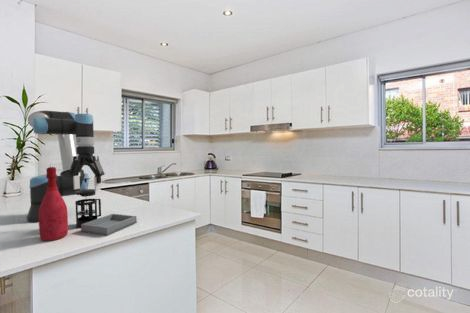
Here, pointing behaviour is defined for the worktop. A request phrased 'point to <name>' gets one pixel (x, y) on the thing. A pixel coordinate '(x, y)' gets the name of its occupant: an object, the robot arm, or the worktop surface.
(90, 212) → the french press
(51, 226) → the wine bottle
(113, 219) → the tray
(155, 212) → the worktop surface
